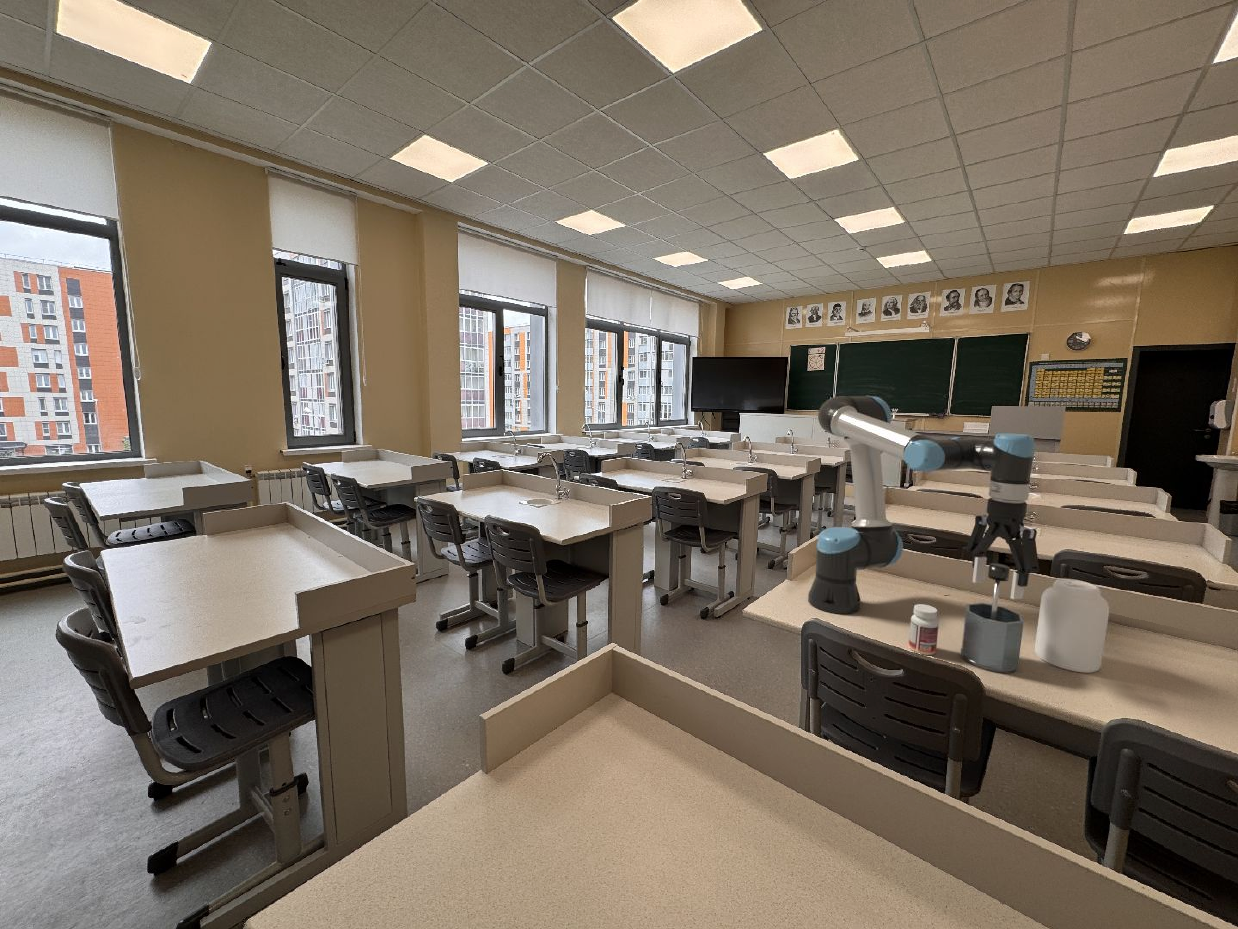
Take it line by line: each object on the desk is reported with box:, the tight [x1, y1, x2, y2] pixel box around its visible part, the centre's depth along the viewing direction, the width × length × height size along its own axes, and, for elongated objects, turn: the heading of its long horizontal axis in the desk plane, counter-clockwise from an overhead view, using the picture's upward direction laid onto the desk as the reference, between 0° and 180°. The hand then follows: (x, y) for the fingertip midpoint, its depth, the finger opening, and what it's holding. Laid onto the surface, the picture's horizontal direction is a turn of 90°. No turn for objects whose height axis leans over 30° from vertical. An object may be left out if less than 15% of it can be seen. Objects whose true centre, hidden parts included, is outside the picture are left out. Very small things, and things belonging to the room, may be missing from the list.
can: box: [1034, 578, 1110, 673], centre depth 128 cm, size 12×12×20 cm
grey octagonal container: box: [960, 602, 1025, 674], centre depth 129 cm, size 12×14×12 cm
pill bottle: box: [908, 603, 939, 656], centre depth 134 cm, size 6×6×11 cm
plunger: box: [987, 562, 1011, 621], centre depth 127 cm, size 8×8×23 cm
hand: (996, 589), depth 127 cm, fingers open, 9 cm apart
